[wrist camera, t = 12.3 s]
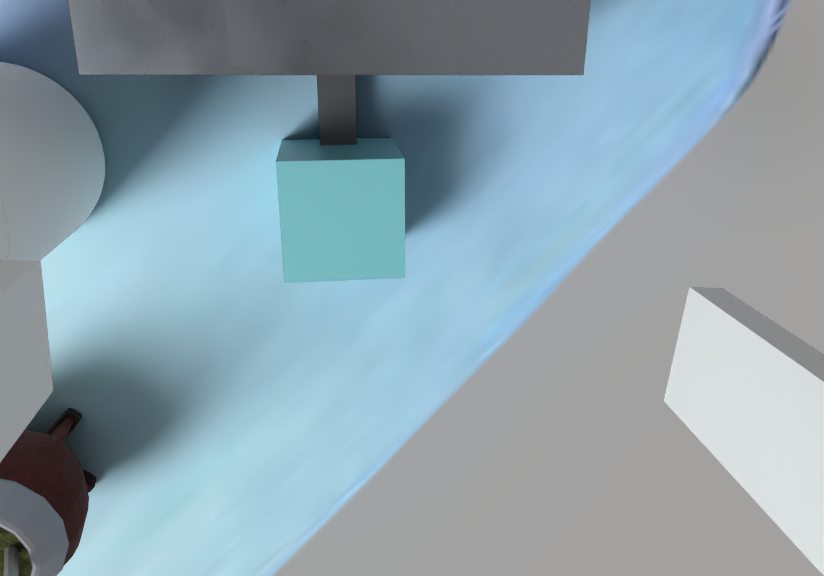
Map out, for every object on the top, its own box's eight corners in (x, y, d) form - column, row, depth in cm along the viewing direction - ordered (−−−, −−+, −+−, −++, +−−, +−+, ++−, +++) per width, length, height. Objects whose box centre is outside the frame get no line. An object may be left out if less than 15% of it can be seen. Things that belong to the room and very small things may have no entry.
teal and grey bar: (253, -298, 26) (239, -364, 22) (388, -291, 27) (403, -354, 22) (288, 245, 34) (284, 282, 29) (393, 241, 34) (405, 277, 30)
